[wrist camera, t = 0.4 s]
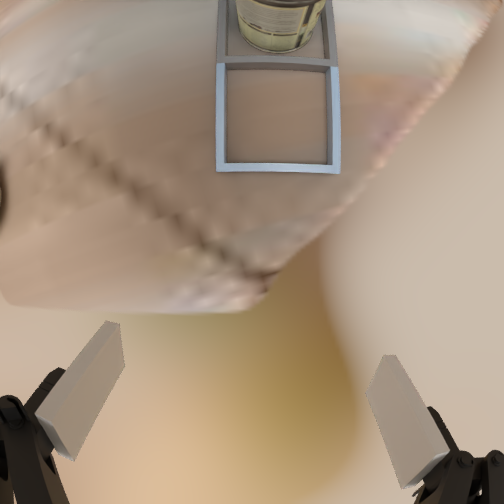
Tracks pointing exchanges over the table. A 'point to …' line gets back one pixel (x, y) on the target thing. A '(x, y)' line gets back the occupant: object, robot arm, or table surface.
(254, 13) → the coffee can
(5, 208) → the table surface
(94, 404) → the robot arm
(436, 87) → the table surface
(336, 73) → the bay tray
